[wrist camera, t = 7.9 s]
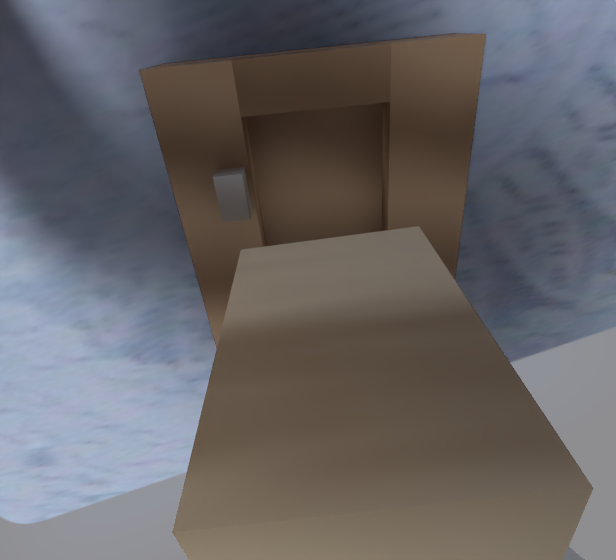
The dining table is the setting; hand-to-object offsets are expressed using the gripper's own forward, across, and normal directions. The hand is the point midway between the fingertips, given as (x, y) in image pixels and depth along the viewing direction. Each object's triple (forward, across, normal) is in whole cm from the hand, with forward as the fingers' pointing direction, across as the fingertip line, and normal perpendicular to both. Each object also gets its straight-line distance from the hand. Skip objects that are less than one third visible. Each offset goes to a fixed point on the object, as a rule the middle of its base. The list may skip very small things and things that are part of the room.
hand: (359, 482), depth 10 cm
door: (+2, 0, 0) cm, 2 cm away
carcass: (+15, 0, 0) cm, 15 cm away
